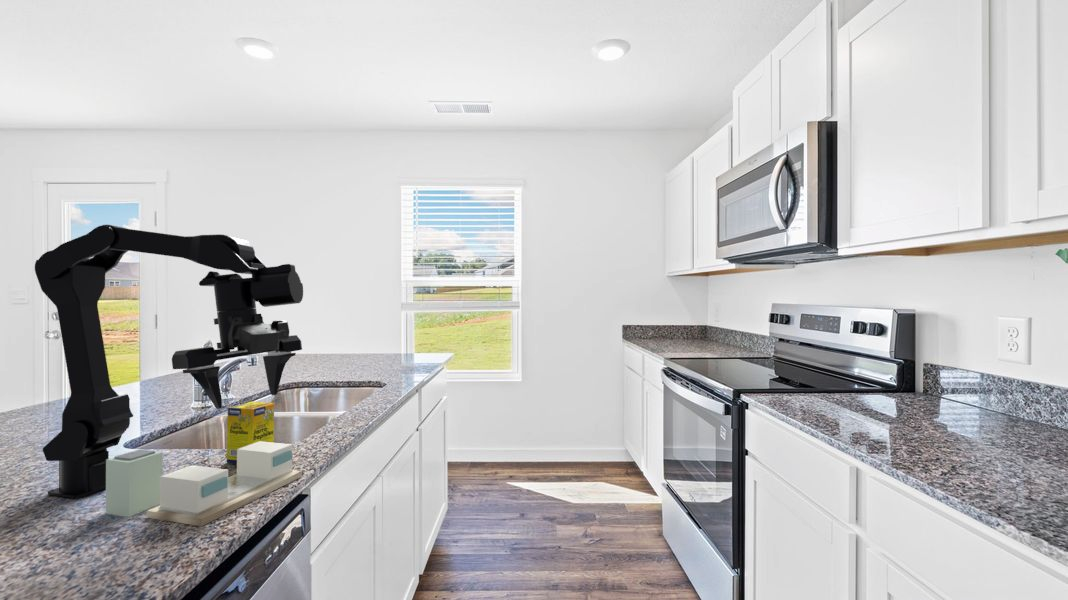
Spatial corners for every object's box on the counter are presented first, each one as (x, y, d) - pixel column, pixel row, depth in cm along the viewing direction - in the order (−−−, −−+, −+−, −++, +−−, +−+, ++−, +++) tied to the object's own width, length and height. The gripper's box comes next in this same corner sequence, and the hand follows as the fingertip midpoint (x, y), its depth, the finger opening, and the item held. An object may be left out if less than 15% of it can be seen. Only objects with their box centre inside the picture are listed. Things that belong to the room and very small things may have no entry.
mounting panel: (146, 517, 72) (146, 510, 72) (255, 471, 91) (255, 465, 91) (201, 526, 69) (201, 519, 69) (301, 476, 88) (301, 471, 88)
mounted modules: (160, 507, 72) (160, 476, 72) (259, 465, 90) (259, 441, 90) (200, 513, 70) (200, 481, 70) (293, 469, 88) (294, 444, 88)
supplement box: (252, 466, 94) (253, 408, 94) (225, 463, 95) (226, 407, 95) (274, 456, 100) (275, 402, 100) (249, 454, 101) (249, 400, 101)
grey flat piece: (158, 510, 72) (158, 507, 72) (260, 467, 90) (260, 465, 90) (196, 516, 70) (196, 513, 70) (292, 471, 88) (292, 468, 88)
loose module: (105, 513, 73) (106, 457, 73) (140, 500, 78) (140, 447, 78) (128, 517, 72) (129, 460, 72) (162, 503, 77) (162, 450, 77)
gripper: (200, 311, 71) (213, 418, 71) (315, 302, 87) (326, 389, 87) (164, 317, 77) (176, 415, 77) (278, 307, 93) (288, 389, 93)
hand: (247, 401), depth 83 cm, fingers open, 9 cm apart
